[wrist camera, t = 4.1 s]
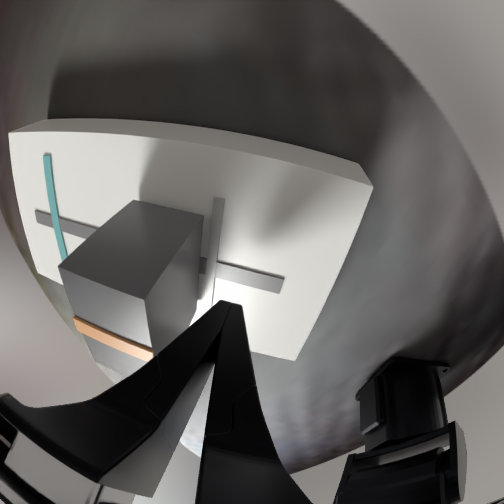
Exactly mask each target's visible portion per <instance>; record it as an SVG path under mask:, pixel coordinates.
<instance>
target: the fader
mask: <svg viewBox="0 0 504 504" xmlns="http://www.w3.org/2000/svg"><path fill="white" fill-rule="evenodd" d="M203 220H204V215H200V214H195V213H191V212H187V211H182V210H178V209H174V208H169V207H165V206H160V205H156V204H151V203H147V202H142V201H138V200H132V201H131V202H130V203H128V204H127V205H126V206H125V207H123V208H122V209H121V210H120V211H119V212H117V213H116V214H115V215H114V216H112V217H111V218H110V219H109V220H108V221H107V222H105V223H104V224H103V225H102V226H101V227H100V228H98V229H97V230H96V231H95V232H94V233H93V234H92V235H90V236H89V237H88V238H87V239H86V240H85V241H84V242H83V243H82V244H80V245H79V246H78V247H77V248H76V249H75V250H74V251H73V252H72V253H71V254H70V255H69V256H68V257H67V258H66V259H64V260H63V261H62V262H61V263H60V264H59V265H58V269H59V273H60V276H61V279H62V282H63V285H64V288H65V291H66V294H67V296H68V299H69V302H70V305H71V307H72V310H73V312H74V315H75V316H74V317H73V320H74V323H75V325H76V327H77V330H78V331H79V332H81V333H82V334H83V336H84V339H85V341H86V343H87V345H88V347H89V349H90V352H91V354H92V356H93V358H94V360H95V362H97V363H99V364H102V365H104V366H106V367H108V368H110V369H112V370H114V371H116V372H119V373H121V374H123V375H125V376H130V375H131V374H133V373H134V372H135V371H137V370H138V369H140V368H141V367H142V366H143V365H145V364H146V363H147V362H148V361H150V360H151V359H152V358H153V357H154V356H157V354H158V353H159V352H160V351H161V350H163V349H164V348H165V347H166V346H167V345H168V344H170V343H171V342H172V341H173V340H174V339H175V338H177V337H178V336H179V335H180V334H181V333H182V332H184V331H185V330H186V329H187V328H188V327H189V326H190V324H191V321H192V319H193V317H194V315H195V313H196V311H197V300H198V283H199V268H200V254H201V242H202V230H203Z"/></svg>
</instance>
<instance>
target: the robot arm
mask: <svg viewBox="0 0 504 504" xmlns="http://www.w3.org/2000/svg"><path fill="white" fill-rule="evenodd" d="M214 364H215V367H214ZM213 367H214V374H213V380H212V386H211V393H210V400H209V406H208V413H207V420H206V427H205V434H204V441H203V448H202V455H201V462H200V469H199V477H198V484H197V492H196V499H195V504H313V503H312V502H311V501H310V500H309V499H308V498H307V496H306V495H305V494H304V493H303V492H302V490H301V489H300V488H299V486H298V485H297V484H296V483H295V481H294V480H293V479H292V478H291V476H290V475H289V474H288V472H287V471H286V470H285V468H284V467H283V465H282V463H281V461H280V459H279V457H278V454H277V452H276V449H275V447H274V444H273V441H272V438H271V436H270V433H269V430H268V427H267V425H266V422H265V419H264V415H263V412H262V409H261V405H260V400H259V396H258V391H257V386H256V380H255V375H254V369H253V364H252V358H251V353H250V347H249V341H248V335H247V330H246V324H245V318H244V312H243V307H242V305H240V304H236V303H231V302H229V301H225V300H219V301H218V302H217V303H216V304H215V305H213V306H212V307H211V308H210V309H209V310H208V311H207V312H205V313H204V314H203V315H202V316H201V317H200V318H199V319H197V320H196V321H195V322H194V323H193V324H192V325H190V326H189V327H188V328H187V329H186V330H185V331H184V332H182V333H181V334H180V335H179V336H178V337H177V338H175V339H174V340H173V341H172V342H171V343H170V344H168V345H167V346H166V347H165V348H164V349H163V350H161V351H160V352H159V353H158V354H157V356H154V357H153V358H152V359H151V360H150V361H148V362H147V363H146V364H145V365H143V366H142V367H141V368H140V369H138V370H137V371H135V372H134V373H133V374H131V375H130V376H128V377H127V378H125V379H124V380H122V381H120V382H119V383H117V384H116V385H114V386H113V387H111V388H109V389H108V390H106V391H104V392H103V393H101V394H100V395H98V396H96V397H94V398H92V399H90V400H87V401H83V402H78V403H72V404H65V405H58V406H50V407H41V408H33V407H28V406H24V405H23V404H21V403H20V402H19V401H18V400H16V399H15V398H14V397H13V396H12V395H10V394H9V393H4V394H0V499H1V500H2V501H3V502H4V503H5V504H132V502H133V500H134V497H135V494H137V495H141V496H145V497H151V498H152V497H153V495H154V493H155V491H156V488H157V486H158V484H159V482H160V480H161V478H162V476H163V473H164V472H165V469H166V468H167V466H168V463H169V461H170V459H171V457H172V455H173V452H174V451H175V449H176V446H177V444H178V442H179V440H180V438H181V436H182V434H183V432H184V429H185V427H186V425H187V423H188V421H189V419H190V417H191V414H192V412H193V410H194V408H195V406H196V404H197V401H198V399H199V397H200V395H201V393H202V391H203V388H204V386H205V384H206V382H207V380H208V377H209V375H210V373H211V371H212V369H213ZM449 370H450V365H449V364H448V363H439V362H429V361H421V360H412V359H404V358H391V359H390V360H388V361H387V363H386V364H385V365H384V366H383V367H382V368H381V369H380V370H379V371H378V372H377V373H376V375H375V376H374V377H373V378H372V379H371V380H370V381H369V382H368V383H367V384H366V385H365V386H364V387H363V388H362V389H361V390H360V391H359V392H358V393H357V394H356V395H355V397H356V400H357V401H360V432H361V434H362V435H365V452H363V453H359V454H356V453H354V454H350V455H348V458H347V461H346V464H345V468H344V471H343V474H342V478H341V481H340V484H339V487H338V490H337V493H336V496H335V499H334V502H333V504H458V503H459V502H461V501H463V499H464V492H465V482H466V467H467V450H466V444H465V438H464V433H463V430H462V429H461V428H460V426H459V425H458V423H456V421H453V422H451V423H448V420H447V414H446V408H445V403H444V397H443V392H442V387H441V383H440V379H441V378H442V377H443V376H444V375H445V374H446V373H447V372H448V371H449ZM448 445H450V449H448V450H446V451H444V449H443V447H446V446H448ZM487 504H504V497H502V498H500V499H498V500H495V501H493V502H490V503H487Z"/></svg>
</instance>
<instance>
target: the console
mask: <svg viewBox="0 0 504 504" xmlns="http://www.w3.org/2000/svg"><path fill="white" fill-rule="evenodd" d="M9 145H10V155H11V163H12V171H13V177H14V184H15V189H16V195H17V200H18V205H19V209H20V214H21V218H22V222H23V226H24V230H25V233H26V237H27V240H28V244H29V247H30V251H31V254H32V257H33V260H34V263H35V266H36V269H37V272H38V273H40V274H42V275H44V276H46V277H48V278H50V279H52V280H54V281H56V282H58V283H60V284H62V285H63V282H62V279H61V276H60V273H59V269H58V265H59V264H60V263H61V262H62V261H63V260H64V259H66V258H67V257H68V256H69V255H70V254H71V253H72V252H73V251H74V250H75V249H76V248H77V247H78V246H79V245H80V244H82V243H83V242H84V241H85V240H86V239H87V238H88V237H89V236H90V235H92V234H93V233H94V232H95V231H96V230H97V229H98V228H100V227H101V226H102V225H103V224H104V223H105V222H107V221H108V220H109V219H110V218H111V217H112V216H114V215H115V214H116V213H117V212H119V211H120V210H121V209H122V208H123V207H125V206H126V205H127V204H128V203H130V202H131V201H132V200H138V201H142V202H147V203H151V204H156V205H160V206H165V207H169V208H174V209H178V210H182V211H187V212H191V213H195V214H200V215H204V220H203V230H202V242H201V254H200V268H199V283H198V300H197V311H196V313H195V315H194V317H193V319H192V321H191V324H190V325H192V324H193V323H194V322H195V321H196V320H197V319H199V318H200V317H201V316H202V315H203V314H204V313H205V312H207V311H208V310H209V309H210V308H211V307H212V306H213V305H215V304H216V303H217V302H218V301H219V300H225V301H229V302H231V303H236V304H240V305H242V307H243V312H244V318H245V324H246V330H247V335H248V341H249V347H250V351H253V352H257V353H262V354H266V355H270V356H274V357H279V358H283V359H288V360H293V361H295V360H296V358H297V356H298V354H299V352H300V350H301V349H302V347H303V345H304V343H305V341H306V339H307V337H308V335H309V333H310V331H311V330H312V328H313V326H314V324H315V322H316V320H317V318H318V316H319V314H320V312H321V310H322V308H323V306H324V304H325V301H326V299H327V297H328V295H329V293H330V291H331V289H332V287H333V285H334V282H335V280H336V278H337V276H338V274H339V271H340V269H341V267H342V265H343V262H344V260H345V258H346V255H347V253H348V251H349V248H350V246H351V244H352V241H353V239H354V237H355V234H356V232H357V229H358V227H359V224H360V222H361V219H362V217H363V214H364V211H365V209H366V206H367V203H368V201H369V198H370V195H371V193H372V190H373V185H372V184H371V182H370V180H369V179H368V177H367V176H366V174H365V172H364V171H363V169H362V168H361V166H360V165H359V163H355V162H352V161H349V160H346V159H343V158H339V157H336V156H333V155H329V154H326V153H322V152H319V151H315V150H311V149H308V148H304V147H300V146H296V145H292V144H288V143H283V142H279V141H275V140H270V139H266V138H261V137H256V136H251V135H246V134H241V133H235V132H230V131H224V130H218V129H211V128H205V127H198V126H190V125H182V124H174V123H164V122H154V121H141V120H125V119H97V118H72V119H45V120H41V121H38V122H36V123H33V124H30V125H27V126H25V127H22V128H19V129H17V130H14V131H12V132H9Z"/></svg>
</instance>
